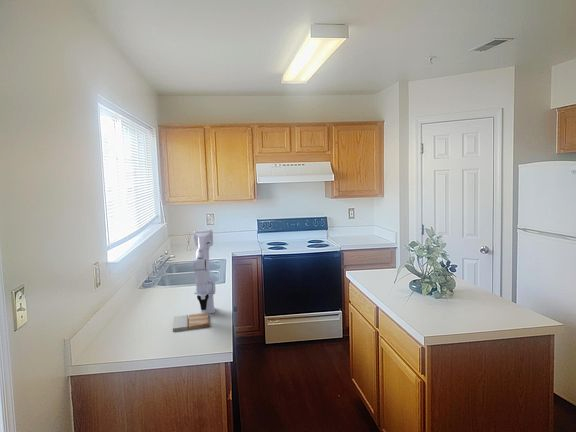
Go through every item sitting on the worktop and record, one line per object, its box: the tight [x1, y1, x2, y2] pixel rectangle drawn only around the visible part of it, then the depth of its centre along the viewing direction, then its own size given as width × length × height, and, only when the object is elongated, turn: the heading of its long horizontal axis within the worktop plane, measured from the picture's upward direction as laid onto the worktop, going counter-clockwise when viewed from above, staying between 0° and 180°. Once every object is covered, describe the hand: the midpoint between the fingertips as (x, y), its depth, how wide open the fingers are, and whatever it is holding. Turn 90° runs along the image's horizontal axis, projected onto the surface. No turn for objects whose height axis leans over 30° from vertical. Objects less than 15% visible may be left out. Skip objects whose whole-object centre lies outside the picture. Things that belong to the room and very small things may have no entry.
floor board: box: [172, 314, 189, 332], centre depth 211 cm, size 18×7×2 cm, turn 13°
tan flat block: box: [188, 312, 210, 330], centre depth 213 cm, size 18×10×2 cm, turn 13°
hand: (203, 309), depth 213 cm, fingers closed
